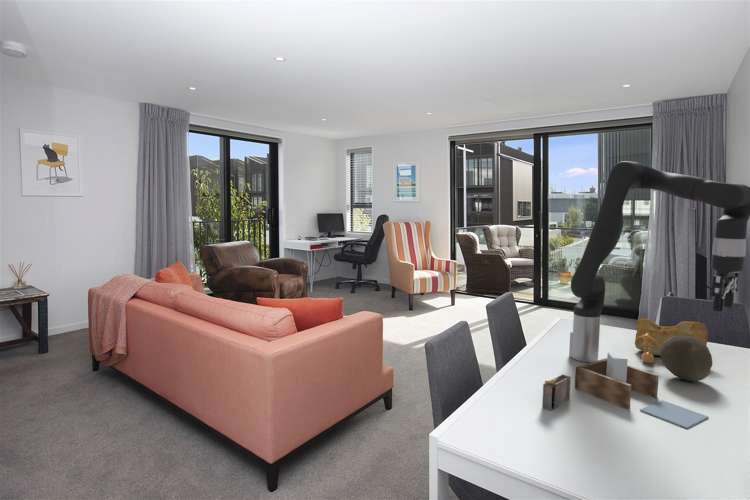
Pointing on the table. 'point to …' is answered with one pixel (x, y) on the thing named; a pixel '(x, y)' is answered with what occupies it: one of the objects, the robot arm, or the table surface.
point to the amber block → (667, 333)
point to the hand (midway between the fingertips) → (723, 308)
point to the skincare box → (616, 366)
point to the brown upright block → (556, 391)
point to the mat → (674, 414)
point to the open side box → (614, 383)
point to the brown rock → (686, 358)
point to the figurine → (645, 356)
